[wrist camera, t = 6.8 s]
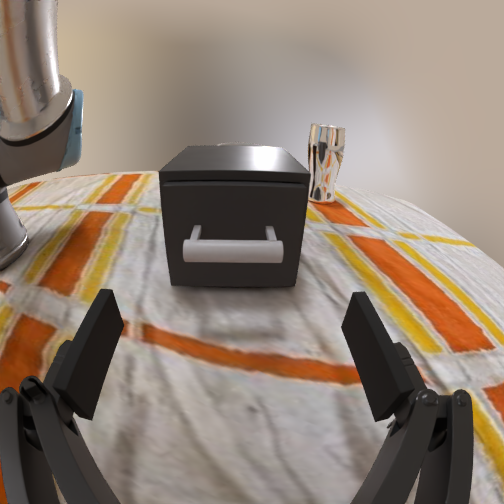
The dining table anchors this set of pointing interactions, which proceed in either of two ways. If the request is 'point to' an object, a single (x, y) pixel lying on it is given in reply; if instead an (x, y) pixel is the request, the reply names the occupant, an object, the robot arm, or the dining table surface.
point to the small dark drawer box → (235, 172)
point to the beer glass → (324, 161)
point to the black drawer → (233, 232)
